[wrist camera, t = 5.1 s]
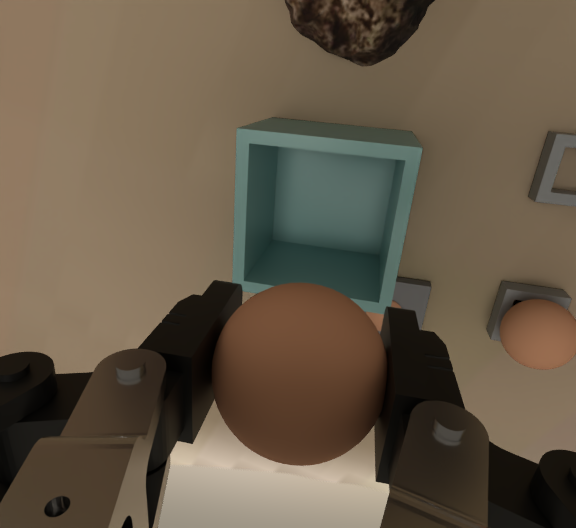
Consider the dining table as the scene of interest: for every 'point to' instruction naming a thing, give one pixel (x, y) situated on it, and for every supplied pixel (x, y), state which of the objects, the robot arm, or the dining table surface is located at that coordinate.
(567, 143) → the frame
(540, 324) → the ball
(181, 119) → the dining table surface
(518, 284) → the frame
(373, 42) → the stone relief
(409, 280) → the card
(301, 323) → the ball
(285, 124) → the teal open box
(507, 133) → the dining table surface
